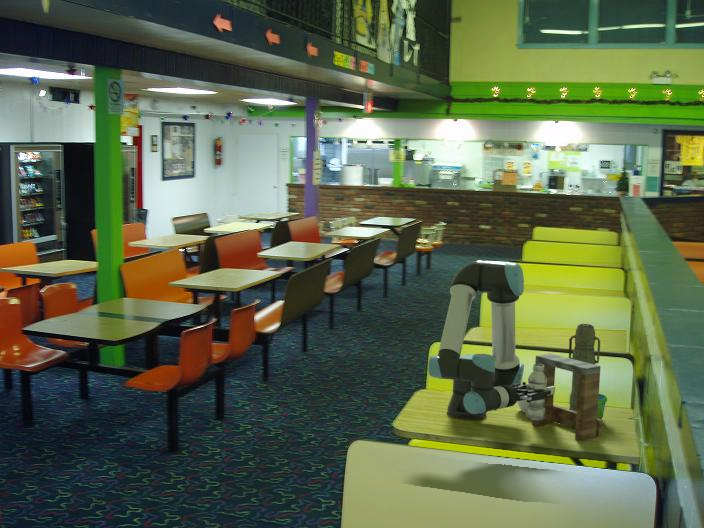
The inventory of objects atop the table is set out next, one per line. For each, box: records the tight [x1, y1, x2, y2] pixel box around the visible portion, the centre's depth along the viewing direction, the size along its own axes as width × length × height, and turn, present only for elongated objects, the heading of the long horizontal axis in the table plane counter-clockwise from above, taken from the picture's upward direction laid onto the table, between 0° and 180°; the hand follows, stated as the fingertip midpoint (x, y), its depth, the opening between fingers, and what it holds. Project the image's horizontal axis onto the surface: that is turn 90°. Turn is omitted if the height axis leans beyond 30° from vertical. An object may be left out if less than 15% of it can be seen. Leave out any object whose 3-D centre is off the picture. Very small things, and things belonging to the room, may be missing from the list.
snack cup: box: [597, 393, 608, 420], centre depth 310 cm, size 16×10×10 cm
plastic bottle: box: [525, 363, 547, 421], centre depth 286 cm, size 6×7×20 cm
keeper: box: [531, 353, 604, 442], centre depth 297 cm, size 23×12×26 cm, turn 36°
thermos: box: [568, 323, 601, 412], centre depth 323 cm, size 9×12×35 cm
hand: (546, 387), depth 289 cm, fingers closed on plastic bottle, 6 cm apart
